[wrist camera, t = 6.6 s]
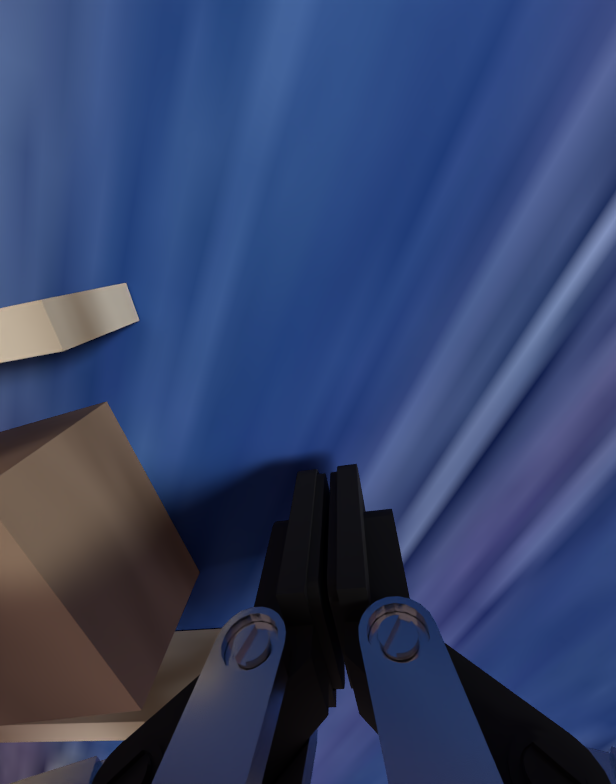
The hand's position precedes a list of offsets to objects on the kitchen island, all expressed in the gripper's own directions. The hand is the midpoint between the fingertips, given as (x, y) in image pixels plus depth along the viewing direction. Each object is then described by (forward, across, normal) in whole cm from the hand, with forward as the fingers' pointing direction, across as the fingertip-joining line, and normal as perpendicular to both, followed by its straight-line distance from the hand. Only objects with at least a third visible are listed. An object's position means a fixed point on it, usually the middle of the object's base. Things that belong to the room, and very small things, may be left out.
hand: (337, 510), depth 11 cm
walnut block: (+1, +9, 0) cm, 10 cm away
